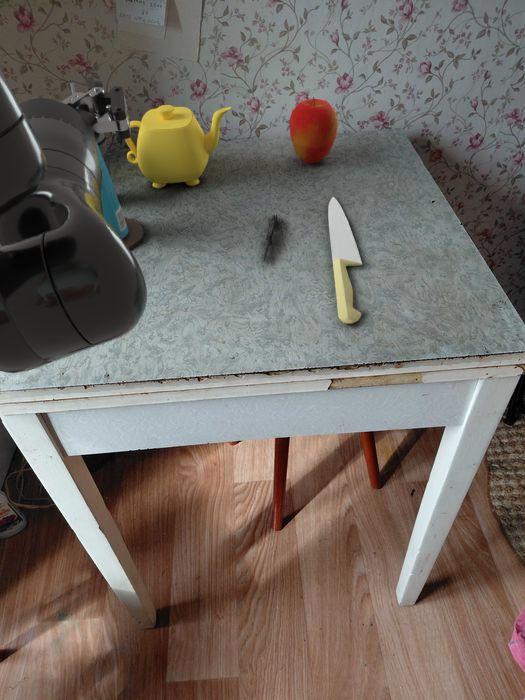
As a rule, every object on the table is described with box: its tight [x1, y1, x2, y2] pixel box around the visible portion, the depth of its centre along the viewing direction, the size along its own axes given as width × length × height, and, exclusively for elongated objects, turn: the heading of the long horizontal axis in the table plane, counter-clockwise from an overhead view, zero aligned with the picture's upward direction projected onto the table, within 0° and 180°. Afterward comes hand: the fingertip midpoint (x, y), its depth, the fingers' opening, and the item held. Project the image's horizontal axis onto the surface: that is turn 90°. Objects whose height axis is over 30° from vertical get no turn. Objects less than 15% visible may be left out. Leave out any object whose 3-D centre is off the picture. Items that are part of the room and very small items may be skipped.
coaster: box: [123, 217, 145, 250], centre depth 88 cm, size 10×10×1 cm
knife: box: [327, 196, 363, 325], centre depth 82 cm, size 1×32×5 cm
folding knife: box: [263, 214, 278, 263], centre depth 84 cm, size 13×1×2 cm, turn 171°
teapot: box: [124, 104, 232, 189], centre depth 97 cm, size 14×20×13 cm
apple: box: [288, 96, 339, 165], centre depth 100 cm, size 9×9×12 cm
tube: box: [96, 142, 128, 239], centre depth 80 cm, size 7×5×19 cm, turn 23°
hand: (48, 93), depth 52 cm, fingers open, 8 cm apart
